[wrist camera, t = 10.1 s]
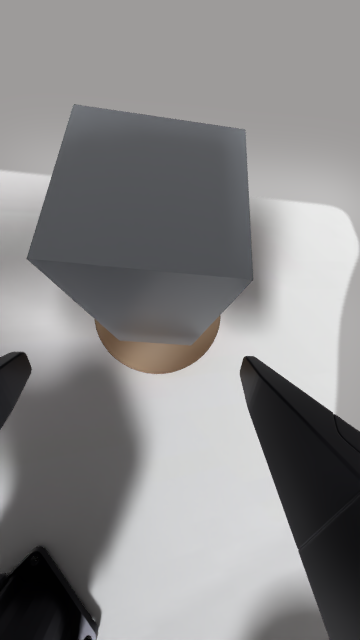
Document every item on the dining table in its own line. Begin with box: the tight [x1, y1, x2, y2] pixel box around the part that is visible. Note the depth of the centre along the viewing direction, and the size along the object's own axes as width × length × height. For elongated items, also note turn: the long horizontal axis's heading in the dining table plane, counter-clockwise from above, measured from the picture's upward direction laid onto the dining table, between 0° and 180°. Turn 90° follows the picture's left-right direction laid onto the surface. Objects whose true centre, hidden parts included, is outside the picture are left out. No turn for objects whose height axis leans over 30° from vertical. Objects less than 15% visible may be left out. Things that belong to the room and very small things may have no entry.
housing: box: [27, 104, 253, 345], centre depth 12 cm, size 6×6×12 cm
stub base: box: [95, 316, 220, 374], centre depth 17 cm, size 11×11×5 cm
